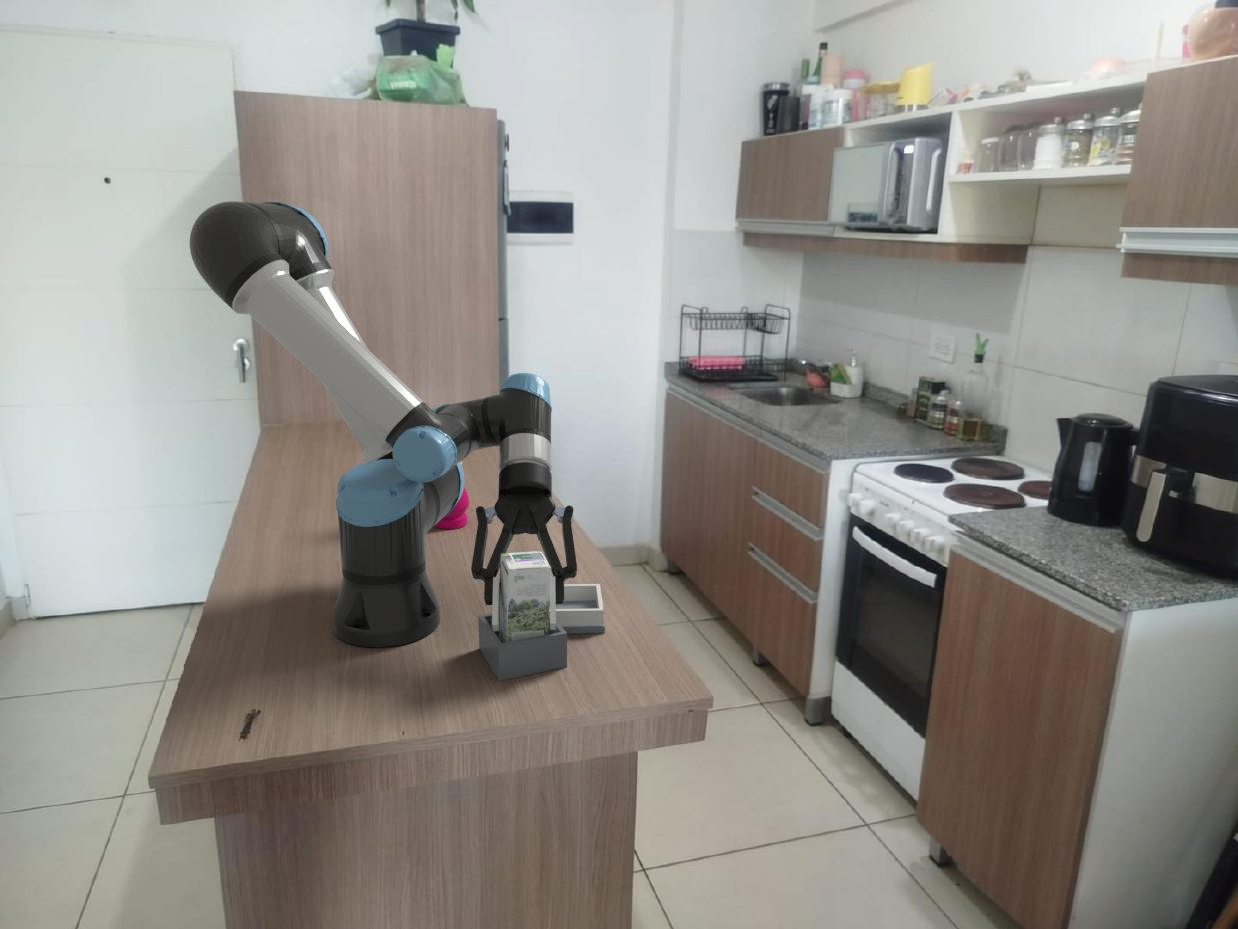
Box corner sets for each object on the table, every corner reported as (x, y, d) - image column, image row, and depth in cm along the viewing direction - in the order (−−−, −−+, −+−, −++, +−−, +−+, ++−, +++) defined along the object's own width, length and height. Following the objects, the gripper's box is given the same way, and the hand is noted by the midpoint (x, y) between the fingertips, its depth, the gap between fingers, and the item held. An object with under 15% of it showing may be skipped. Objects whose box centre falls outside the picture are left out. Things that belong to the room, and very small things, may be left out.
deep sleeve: (499, 680, 112) (498, 646, 110) (479, 648, 120) (478, 615, 119) (566, 666, 116) (567, 633, 114) (542, 636, 124) (542, 604, 122)
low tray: (604, 632, 125) (605, 610, 124) (538, 634, 124) (538, 611, 123) (600, 604, 134) (600, 583, 133) (538, 605, 134) (538, 584, 133)
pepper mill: (461, 532, 163) (458, 429, 158) (425, 528, 164) (421, 426, 159) (475, 519, 170) (472, 420, 164) (440, 516, 171) (437, 418, 166)
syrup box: (537, 644, 121) (541, 548, 117) (547, 665, 116) (551, 564, 112) (497, 648, 120) (499, 551, 116) (505, 669, 114) (508, 567, 110)
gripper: (592, 484, 128) (598, 634, 117) (458, 484, 126) (450, 637, 115) (595, 459, 121) (601, 616, 110) (453, 459, 119) (444, 619, 108)
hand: (524, 627), depth 113 cm, fingers closed on syrup box, 7 cm apart
